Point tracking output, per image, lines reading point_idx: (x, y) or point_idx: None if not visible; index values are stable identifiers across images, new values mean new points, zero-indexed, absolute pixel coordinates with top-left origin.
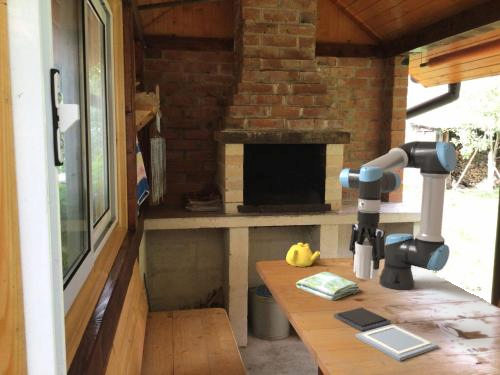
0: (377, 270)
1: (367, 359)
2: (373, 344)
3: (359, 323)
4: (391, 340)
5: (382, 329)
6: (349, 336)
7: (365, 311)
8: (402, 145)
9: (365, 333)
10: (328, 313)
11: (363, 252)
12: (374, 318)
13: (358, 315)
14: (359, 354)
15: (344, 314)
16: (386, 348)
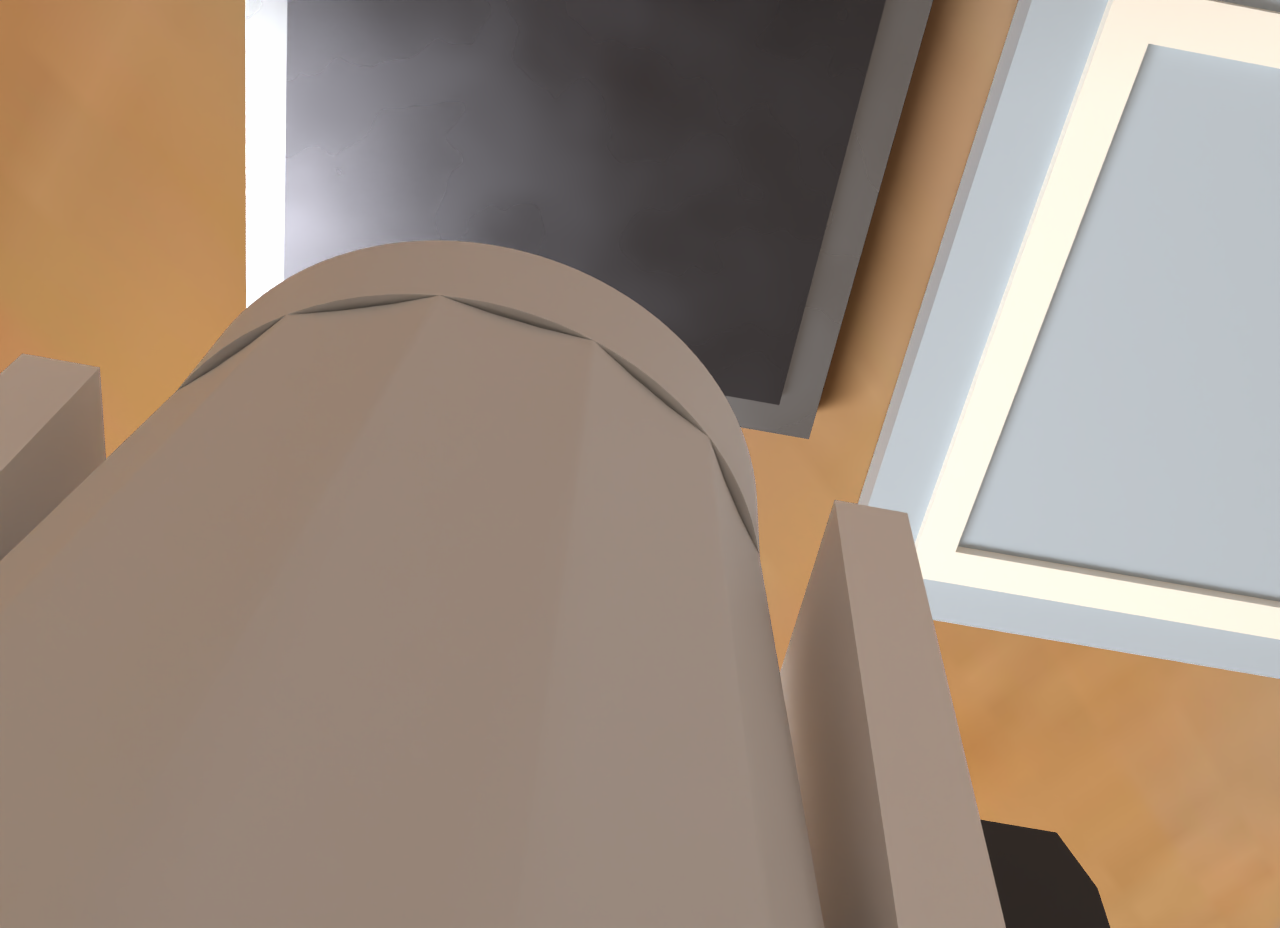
0: (941, 699)
1: (1164, 834)
2: (1113, 647)
3: (711, 373)
4: (1261, 440)
5: (1040, 269)
6: (772, 606)
7: None
8: None
9: (924, 532)
10: (114, 267)
11: None
12: (757, 24)
13: (513, 135)
14: (1061, 814)
15: None
16: (1278, 640)
